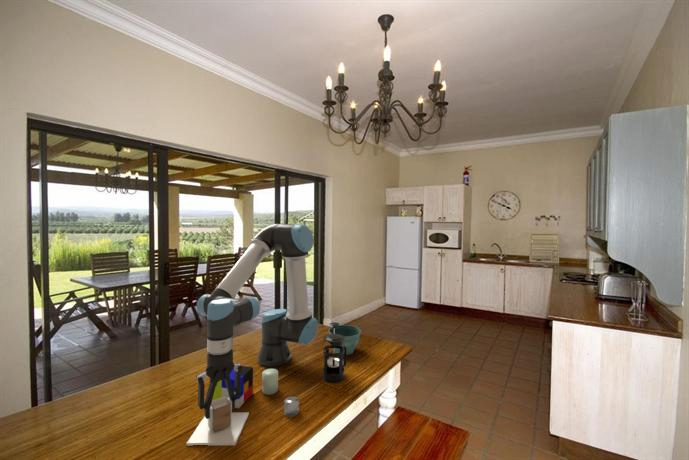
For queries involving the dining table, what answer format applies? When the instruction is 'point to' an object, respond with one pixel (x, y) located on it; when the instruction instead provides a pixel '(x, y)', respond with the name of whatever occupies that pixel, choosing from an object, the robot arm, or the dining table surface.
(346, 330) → the flower pot
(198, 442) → the plate
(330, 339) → the french press
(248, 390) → the puzzle toy
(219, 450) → the dining table surface
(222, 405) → the walnut block
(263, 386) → the pale green egg
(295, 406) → the grey tin
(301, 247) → the robot arm
